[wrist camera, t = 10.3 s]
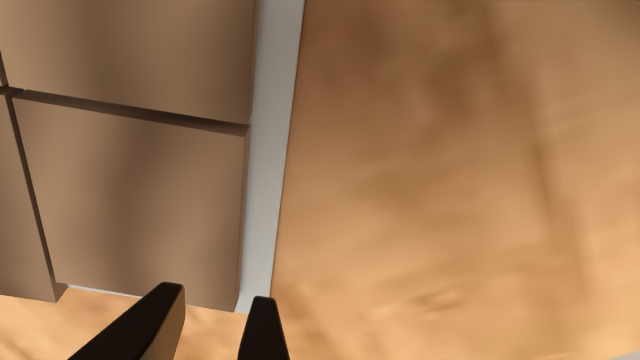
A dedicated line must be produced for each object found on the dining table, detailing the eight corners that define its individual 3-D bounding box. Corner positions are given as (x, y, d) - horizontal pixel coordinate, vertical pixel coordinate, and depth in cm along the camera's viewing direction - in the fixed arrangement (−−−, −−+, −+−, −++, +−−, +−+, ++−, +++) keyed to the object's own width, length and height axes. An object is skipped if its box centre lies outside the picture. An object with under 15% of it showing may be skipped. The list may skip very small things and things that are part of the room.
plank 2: (250, 125, 20) (244, 137, 19) (239, 296, 26) (234, 312, 25) (29, 87, 20) (11, 97, 19) (68, 267, 26) (56, 282, 25)
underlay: (336, -268, 14) (335, -274, 13) (268, 309, 28) (266, 316, 27) (-59, -339, 13) (-74, -348, 13) (72, 280, 27) (68, 286, 27)
